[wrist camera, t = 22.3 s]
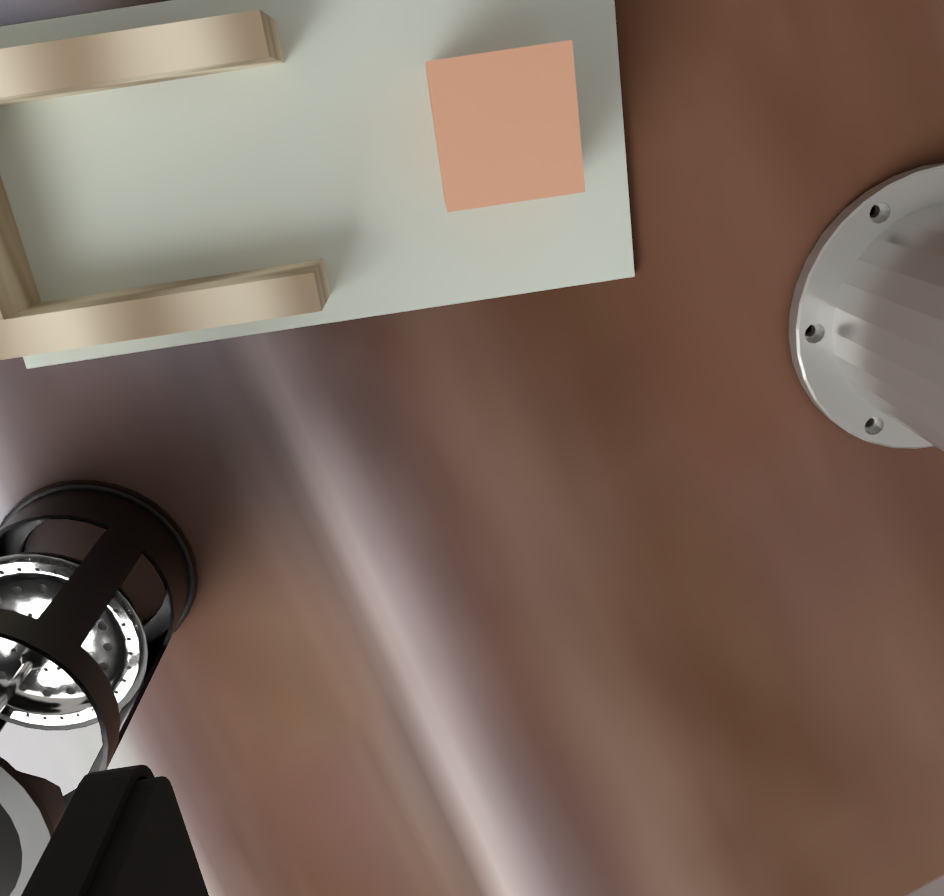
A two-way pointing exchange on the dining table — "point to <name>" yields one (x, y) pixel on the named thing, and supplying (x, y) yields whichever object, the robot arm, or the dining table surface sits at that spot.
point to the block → (507, 125)
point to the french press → (77, 641)
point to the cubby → (162, 305)
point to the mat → (308, 165)
